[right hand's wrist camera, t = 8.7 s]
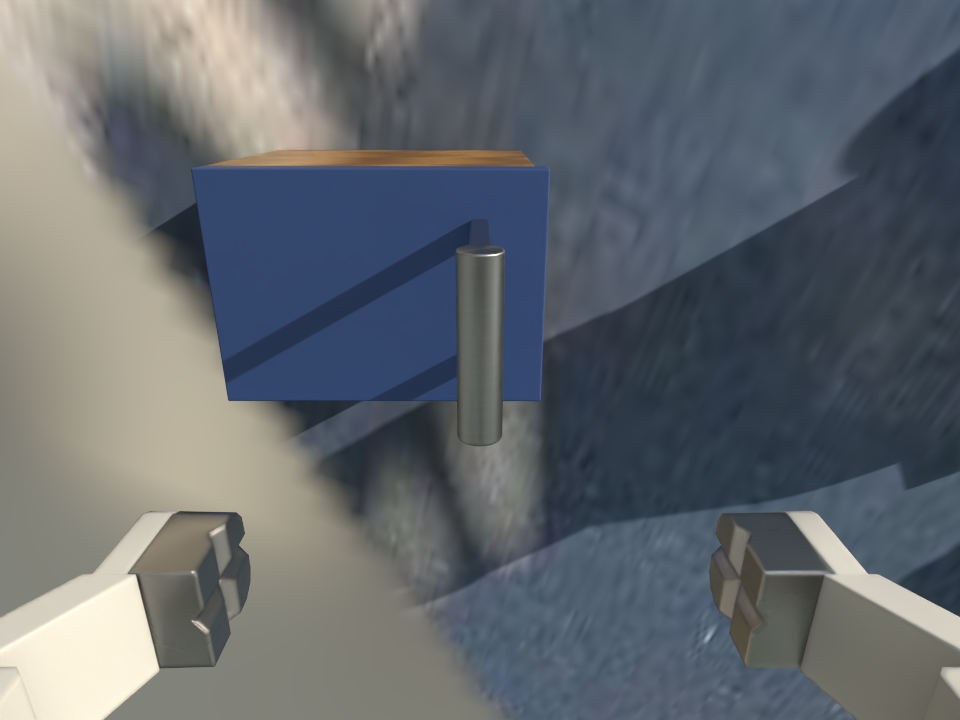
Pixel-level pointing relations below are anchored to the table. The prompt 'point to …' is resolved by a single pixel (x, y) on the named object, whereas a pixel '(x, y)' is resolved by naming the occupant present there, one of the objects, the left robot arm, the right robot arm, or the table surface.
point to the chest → (382, 158)
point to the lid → (379, 284)
